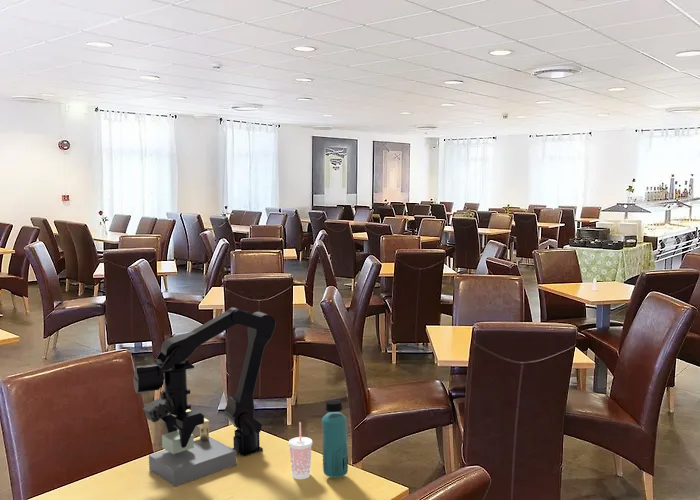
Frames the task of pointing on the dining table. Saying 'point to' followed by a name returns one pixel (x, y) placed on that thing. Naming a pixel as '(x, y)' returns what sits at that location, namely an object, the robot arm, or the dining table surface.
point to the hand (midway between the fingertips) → (178, 443)
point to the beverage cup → (300, 456)
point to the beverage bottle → (334, 440)
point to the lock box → (192, 462)
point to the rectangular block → (175, 442)
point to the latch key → (203, 429)
